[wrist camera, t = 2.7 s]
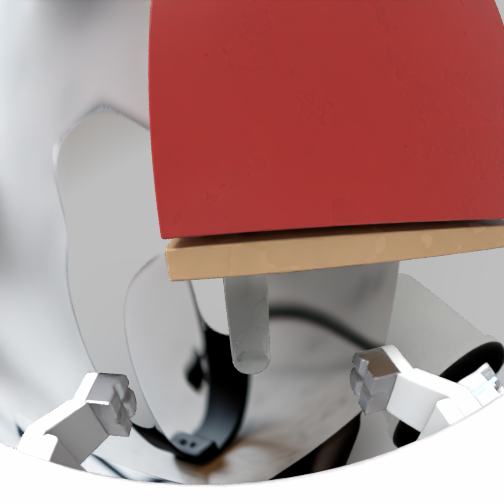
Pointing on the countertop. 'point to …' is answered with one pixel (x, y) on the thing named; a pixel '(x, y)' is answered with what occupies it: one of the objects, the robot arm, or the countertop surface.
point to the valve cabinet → (324, 113)
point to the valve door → (308, 264)
